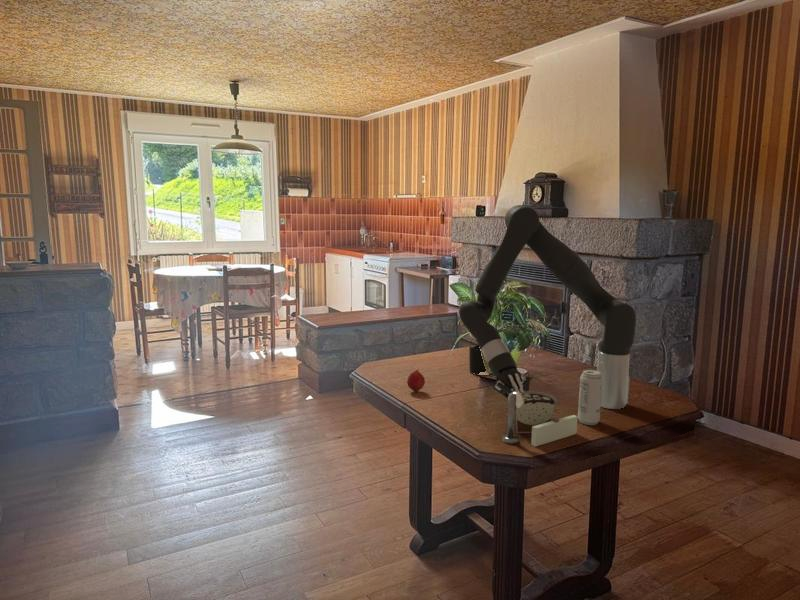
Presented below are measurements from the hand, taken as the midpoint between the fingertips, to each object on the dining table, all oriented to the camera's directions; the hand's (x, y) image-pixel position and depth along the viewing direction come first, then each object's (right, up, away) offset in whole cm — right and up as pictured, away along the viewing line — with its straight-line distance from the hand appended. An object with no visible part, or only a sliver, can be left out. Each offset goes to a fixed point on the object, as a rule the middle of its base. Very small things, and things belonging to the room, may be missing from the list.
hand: (526, 410), depth 154 cm
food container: (+1, -5, -1) cm, 5 cm away
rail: (+6, -6, -8) cm, 12 cm away
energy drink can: (+19, -5, +5) cm, 20 cm away
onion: (-30, 0, +30) cm, 42 cm away
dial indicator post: (-6, -6, -9) cm, 13 cm away
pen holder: (-5, +3, +53) cm, 53 cm away
